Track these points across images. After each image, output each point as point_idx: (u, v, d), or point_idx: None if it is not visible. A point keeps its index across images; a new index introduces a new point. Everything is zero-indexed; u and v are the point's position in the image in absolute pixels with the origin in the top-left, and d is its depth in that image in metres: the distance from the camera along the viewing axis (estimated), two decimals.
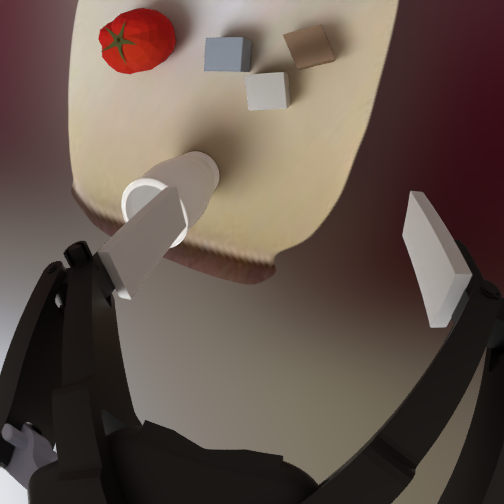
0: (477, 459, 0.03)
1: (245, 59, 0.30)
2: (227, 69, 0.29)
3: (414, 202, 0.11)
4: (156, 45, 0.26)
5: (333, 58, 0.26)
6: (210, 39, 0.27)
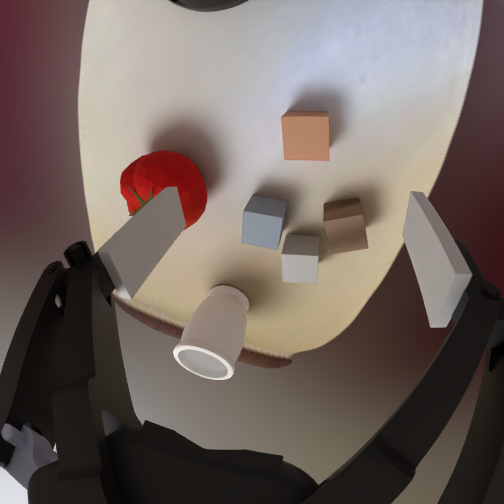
0: (477, 459, 0.03)
1: (281, 230, 0.37)
2: (265, 246, 0.37)
3: (414, 202, 0.11)
4: (191, 218, 0.33)
5: (366, 247, 0.33)
6: (248, 213, 0.34)
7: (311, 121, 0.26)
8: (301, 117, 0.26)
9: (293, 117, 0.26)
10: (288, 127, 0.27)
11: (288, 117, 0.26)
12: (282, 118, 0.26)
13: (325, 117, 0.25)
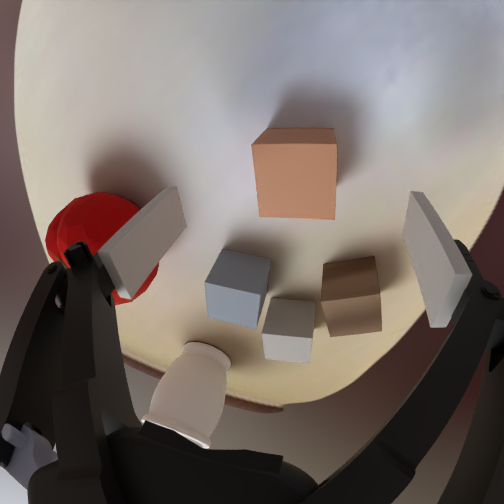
0: (477, 459, 0.03)
1: (262, 301, 0.26)
2: (238, 323, 0.26)
3: (414, 202, 0.11)
4: None
5: (379, 330, 0.22)
6: (211, 285, 0.24)
7: (306, 152, 0.15)
8: (287, 145, 0.15)
9: (273, 145, 0.15)
10: (264, 162, 0.16)
11: (264, 145, 0.15)
12: (253, 147, 0.15)
13: (331, 145, 0.14)
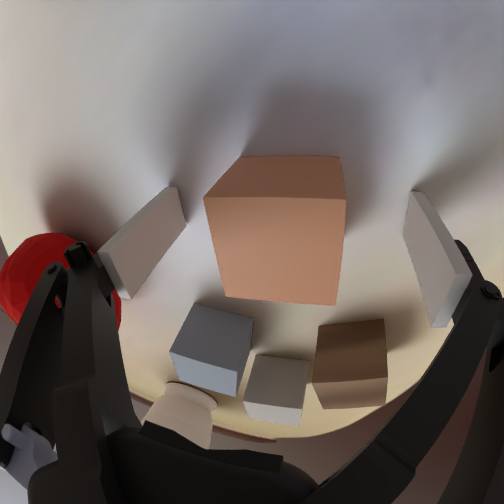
0: (477, 459, 0.03)
1: (243, 367, 0.21)
2: (215, 390, 0.20)
3: (414, 202, 0.11)
4: None
5: (382, 404, 0.17)
6: (177, 355, 0.18)
7: (293, 211, 0.09)
8: (261, 200, 0.09)
9: (237, 199, 0.09)
10: (225, 226, 0.10)
11: (223, 199, 0.10)
12: (207, 202, 0.10)
13: (336, 200, 0.09)
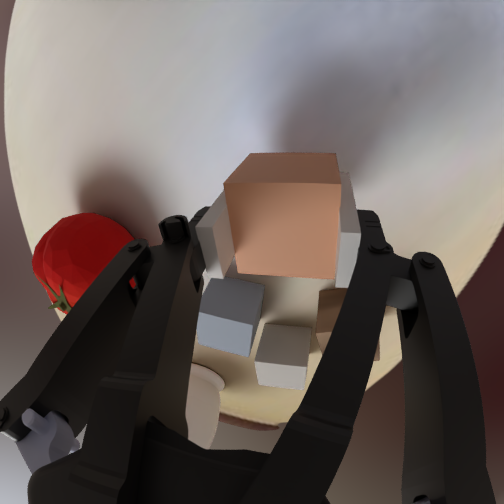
0: (422, 428, 0.04)
1: (255, 329, 0.25)
2: (230, 351, 0.25)
3: None
4: None
5: (377, 359, 0.21)
6: (201, 314, 0.22)
7: (298, 194, 0.11)
8: (272, 185, 0.11)
9: (252, 185, 0.11)
10: (240, 207, 0.12)
11: (240, 184, 0.12)
12: (226, 187, 0.12)
13: (333, 185, 0.11)
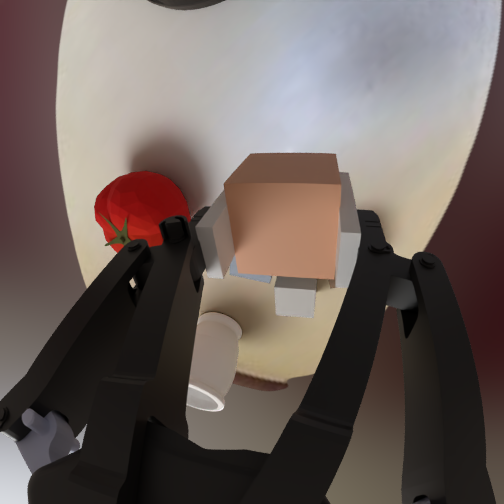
0: (422, 428, 0.04)
1: None
2: (255, 278, 0.33)
3: None
4: None
5: None
6: None
7: (298, 195, 0.11)
8: (272, 185, 0.11)
9: (252, 185, 0.11)
10: (241, 208, 0.12)
11: (240, 185, 0.12)
12: (226, 187, 0.12)
13: (333, 185, 0.11)
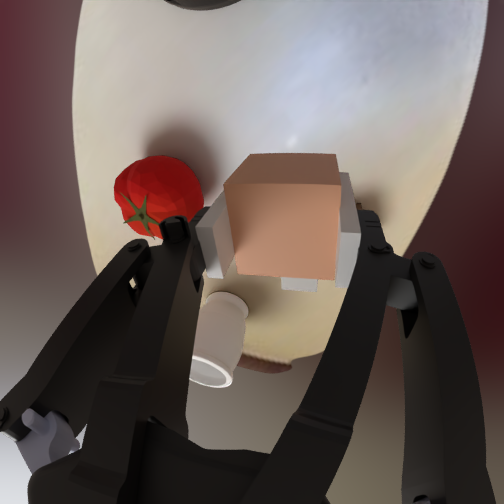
0: (422, 428, 0.04)
1: None
2: None
3: None
4: None
5: None
6: None
7: (298, 195, 0.11)
8: (272, 186, 0.11)
9: (252, 185, 0.11)
10: (240, 208, 0.12)
11: (240, 185, 0.12)
12: (226, 188, 0.12)
13: (333, 186, 0.11)
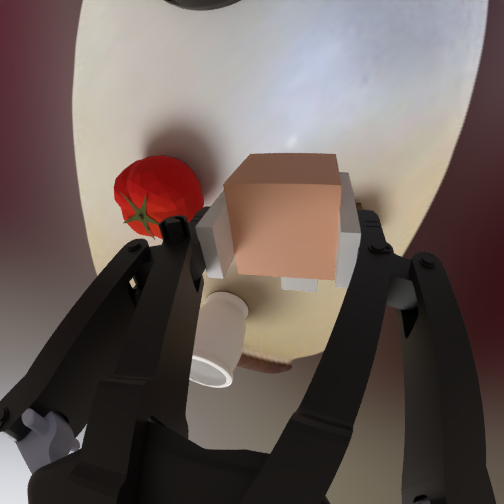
0: (422, 428, 0.04)
1: None
2: None
3: None
4: None
5: None
6: None
7: (298, 195, 0.11)
8: (272, 186, 0.11)
9: (252, 185, 0.11)
10: (240, 208, 0.12)
11: (240, 185, 0.12)
12: (226, 188, 0.12)
13: (333, 186, 0.11)
